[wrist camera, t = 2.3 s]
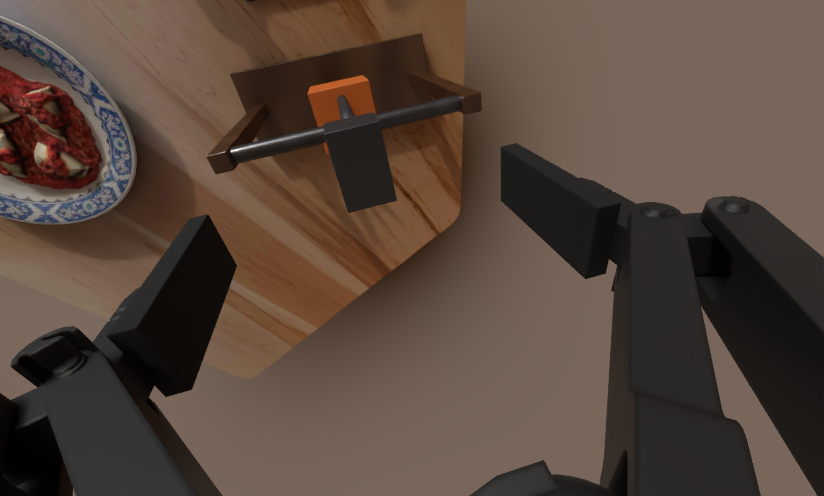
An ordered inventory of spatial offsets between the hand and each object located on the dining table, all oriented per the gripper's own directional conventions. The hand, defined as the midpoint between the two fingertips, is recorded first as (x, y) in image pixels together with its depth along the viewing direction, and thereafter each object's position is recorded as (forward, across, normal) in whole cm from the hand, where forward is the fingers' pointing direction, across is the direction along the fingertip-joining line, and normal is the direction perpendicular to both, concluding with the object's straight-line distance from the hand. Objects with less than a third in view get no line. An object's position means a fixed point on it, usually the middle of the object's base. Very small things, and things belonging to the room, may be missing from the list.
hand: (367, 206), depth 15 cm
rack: (+40, 0, -1) cm, 40 cm away
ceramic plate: (+40, -40, +3) cm, 57 cm away
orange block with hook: (+28, 0, -1) cm, 28 cm away
